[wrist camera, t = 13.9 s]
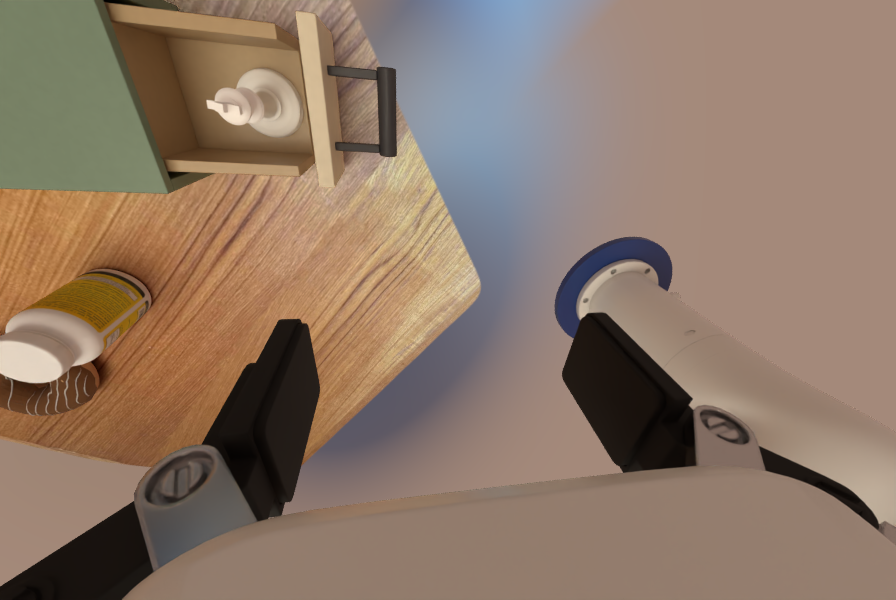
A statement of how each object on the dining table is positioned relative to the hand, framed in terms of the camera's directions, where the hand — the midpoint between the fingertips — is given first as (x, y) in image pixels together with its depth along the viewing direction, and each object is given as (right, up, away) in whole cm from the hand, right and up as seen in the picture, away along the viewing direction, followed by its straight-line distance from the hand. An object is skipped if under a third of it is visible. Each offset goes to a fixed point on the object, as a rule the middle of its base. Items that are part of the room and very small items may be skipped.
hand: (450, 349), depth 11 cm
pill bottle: (-36, +3, +24) cm, 43 cm away
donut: (-48, -6, +27) cm, 55 cm away
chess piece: (-15, +18, +16) cm, 28 cm away
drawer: (-14, +19, +16) cm, 28 cm away
